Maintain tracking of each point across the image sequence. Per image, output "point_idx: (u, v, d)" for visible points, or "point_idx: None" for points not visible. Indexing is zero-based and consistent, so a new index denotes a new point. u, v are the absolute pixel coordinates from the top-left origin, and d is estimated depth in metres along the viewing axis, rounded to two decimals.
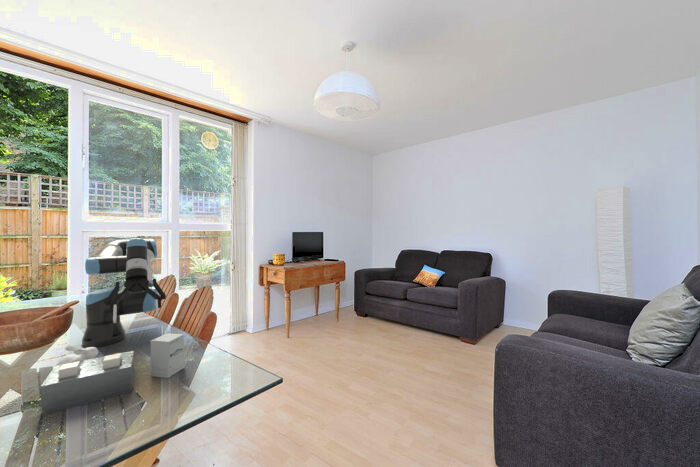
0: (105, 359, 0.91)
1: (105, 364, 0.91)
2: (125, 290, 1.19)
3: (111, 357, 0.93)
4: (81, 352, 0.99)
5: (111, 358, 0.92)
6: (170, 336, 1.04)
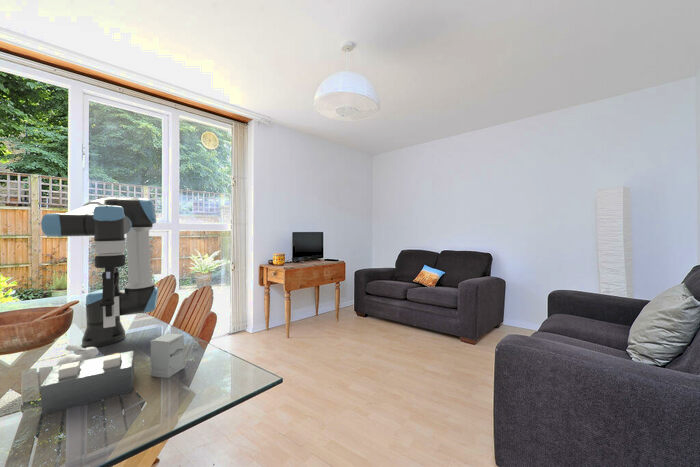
0: (105, 359, 0.91)
1: (105, 364, 0.91)
2: None
3: (111, 357, 0.93)
4: (81, 352, 0.99)
5: (111, 358, 0.92)
6: (170, 336, 1.04)
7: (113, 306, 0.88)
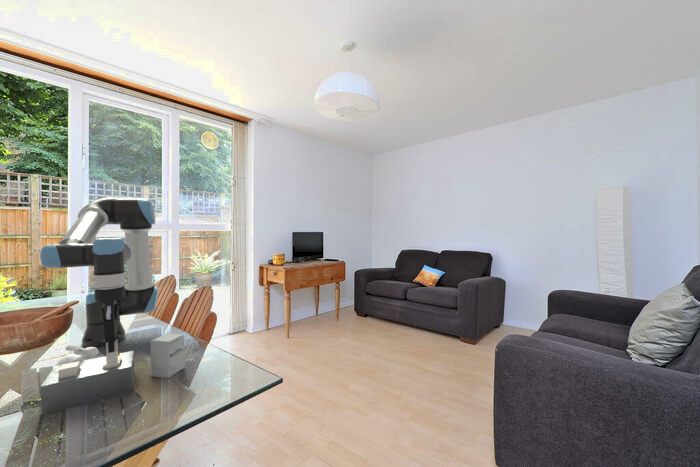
0: (105, 364, 0.91)
1: None
2: None
3: (111, 362, 0.93)
4: (81, 352, 0.99)
5: (111, 363, 0.92)
6: (170, 336, 1.04)
7: (115, 342, 0.93)
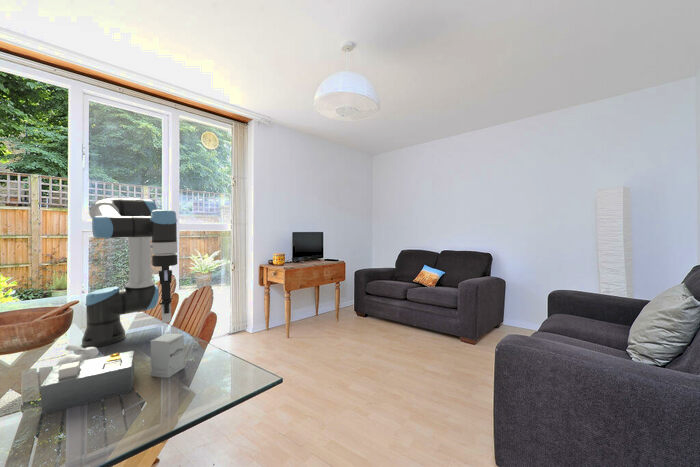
0: (105, 367, 0.92)
1: None
2: None
3: (111, 365, 0.93)
4: (81, 352, 0.99)
5: (111, 366, 0.92)
6: (170, 336, 1.04)
7: (170, 304, 1.02)
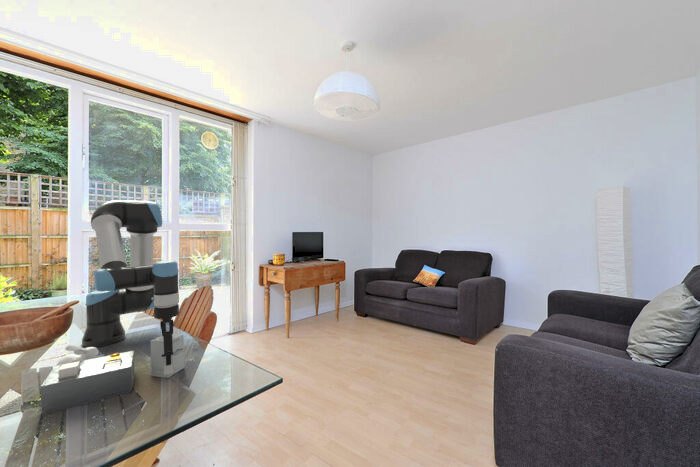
0: (105, 367, 0.92)
1: None
2: None
3: (111, 365, 0.93)
4: (81, 352, 0.99)
5: (111, 366, 0.92)
6: None
7: (172, 355, 1.00)
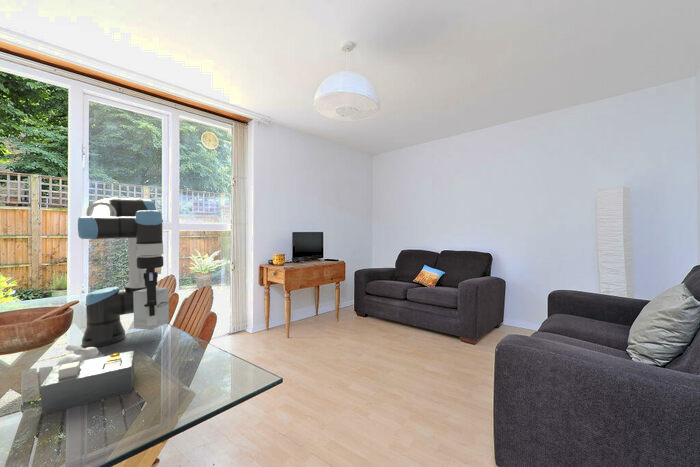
0: (105, 367, 0.92)
1: None
2: None
3: (111, 365, 0.93)
4: (81, 352, 0.99)
5: (111, 366, 0.92)
6: None
7: (155, 306, 0.96)
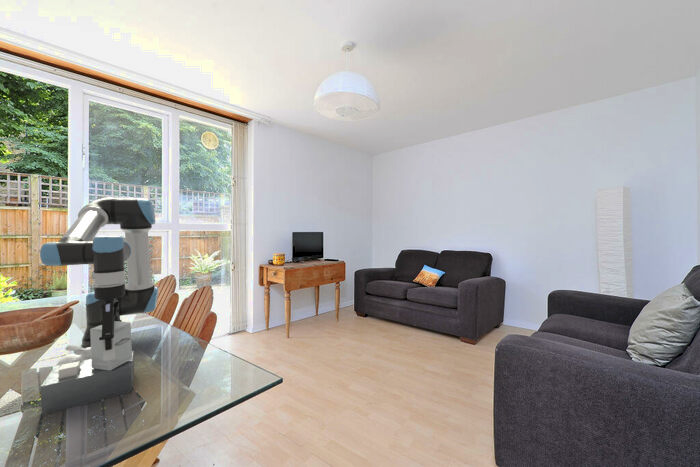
0: None
1: None
2: None
3: None
4: (81, 352, 0.99)
5: None
6: (114, 324, 0.93)
7: (113, 339, 0.88)
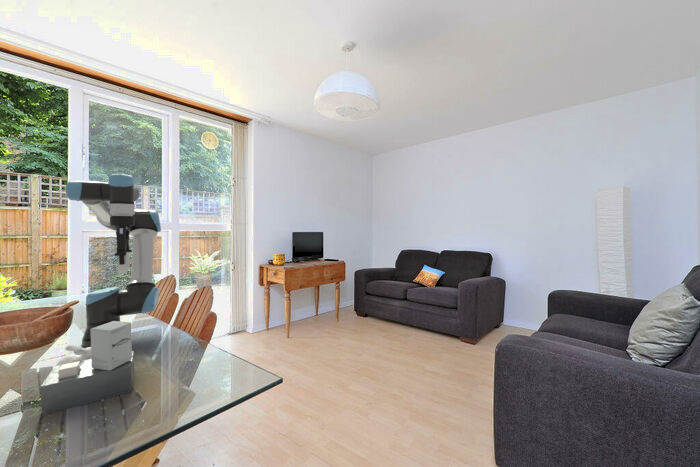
0: None
1: None
2: None
3: None
4: (81, 352, 0.99)
5: None
6: (114, 324, 0.93)
7: (125, 256, 1.07)
